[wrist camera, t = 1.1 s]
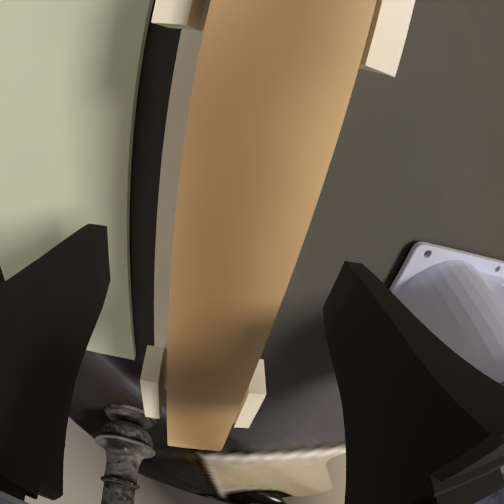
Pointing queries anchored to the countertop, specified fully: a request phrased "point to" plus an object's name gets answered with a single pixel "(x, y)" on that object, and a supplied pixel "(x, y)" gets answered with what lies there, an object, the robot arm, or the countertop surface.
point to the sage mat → (71, 137)
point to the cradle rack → (192, 24)
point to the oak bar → (250, 191)
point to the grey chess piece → (124, 451)
